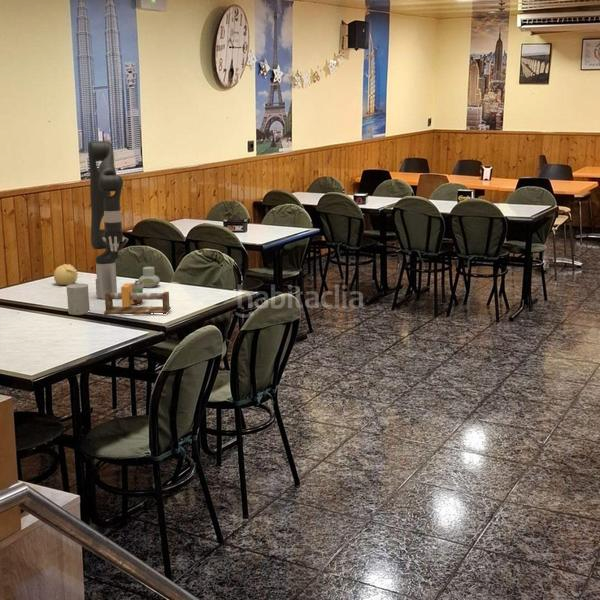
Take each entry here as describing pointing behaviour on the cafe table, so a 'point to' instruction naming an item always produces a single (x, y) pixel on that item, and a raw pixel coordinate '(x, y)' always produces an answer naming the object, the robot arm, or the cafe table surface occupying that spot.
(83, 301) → the gray cylinder
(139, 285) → the food container
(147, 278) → the air freshener
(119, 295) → the rod stand
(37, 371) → the cafe table surface
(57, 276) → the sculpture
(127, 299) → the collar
